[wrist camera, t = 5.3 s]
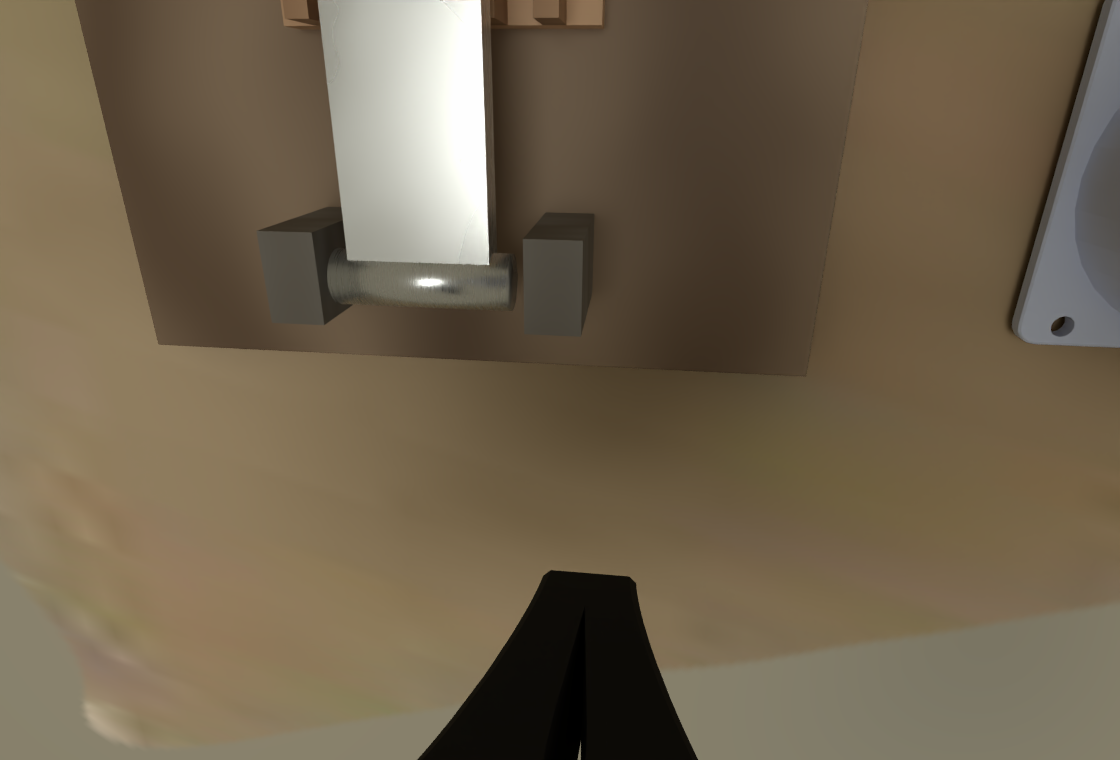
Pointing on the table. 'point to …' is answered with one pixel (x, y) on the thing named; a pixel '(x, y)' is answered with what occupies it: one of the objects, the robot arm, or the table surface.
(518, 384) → the table surface
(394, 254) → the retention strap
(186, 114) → the strap board
